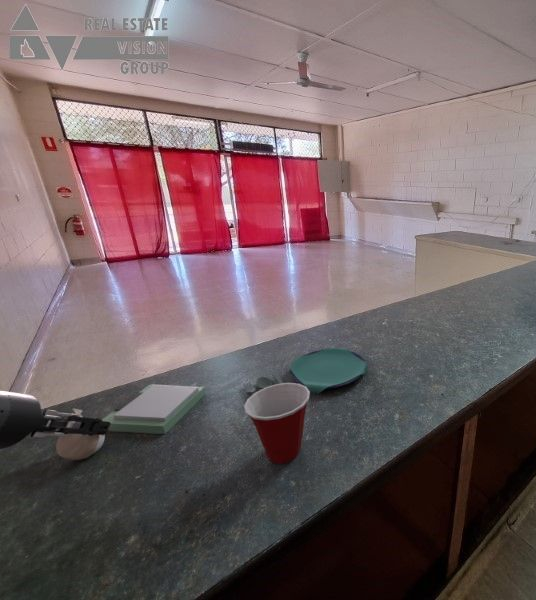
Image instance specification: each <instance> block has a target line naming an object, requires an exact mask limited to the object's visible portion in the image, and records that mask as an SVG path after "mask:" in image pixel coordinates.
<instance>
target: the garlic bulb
mask: <svg viewBox="0 0 536 600" xmlns="http://www.w3.org/2000/svg"><path fill="white" fill-rule="evenodd" d="M83 411H84V409H79V408H72V411H71V412H72V413H71V414H78V415H79V416H80V417H83V415H82V413H83ZM105 435H106V434H105ZM105 435H93V436H89V435H82V434H72V435H70V436H69V437H60V436H58V439H57V441H56V443H55V449H56V453H57V455H58V456H60V457H62V458H63V459H65V460H69V461H70V460H71V461H81V460H84V459H88V458H89V457H90V456H92V455H94V454H95V453H96V452H98V451H99V450H100V449H101V448H102V446H103V445H104V443H105V439H106V436H105Z"/></svg>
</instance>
